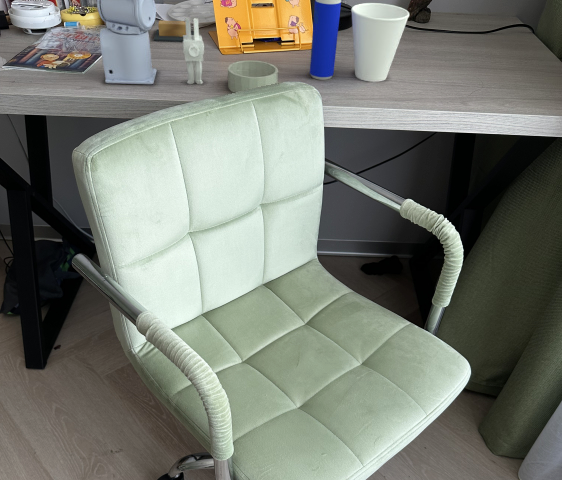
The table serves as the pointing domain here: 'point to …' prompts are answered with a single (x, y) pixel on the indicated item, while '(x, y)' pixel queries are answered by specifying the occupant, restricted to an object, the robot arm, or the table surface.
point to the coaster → (169, 37)
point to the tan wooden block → (172, 28)
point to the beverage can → (324, 38)
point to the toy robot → (193, 52)
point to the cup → (376, 38)
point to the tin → (251, 75)
